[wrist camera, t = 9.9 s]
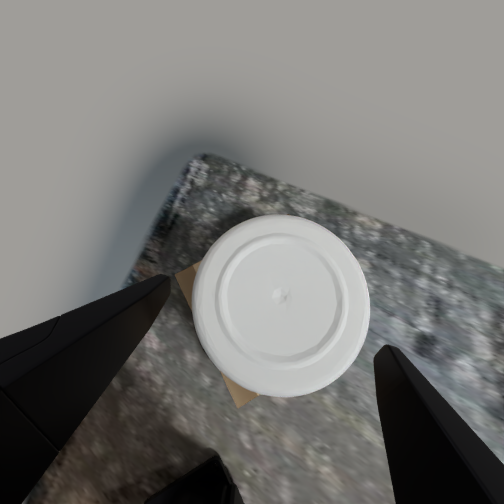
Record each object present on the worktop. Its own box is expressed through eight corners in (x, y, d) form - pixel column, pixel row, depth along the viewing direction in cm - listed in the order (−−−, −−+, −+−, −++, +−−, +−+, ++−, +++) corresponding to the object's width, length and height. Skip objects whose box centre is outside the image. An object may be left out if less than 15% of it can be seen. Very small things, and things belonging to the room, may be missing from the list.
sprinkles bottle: (289, 279, 19) (379, 221, 5) (283, 333, 17) (378, 423, 4) (238, 271, 19) (206, 197, 6) (229, 325, 18) (165, 386, 5)
